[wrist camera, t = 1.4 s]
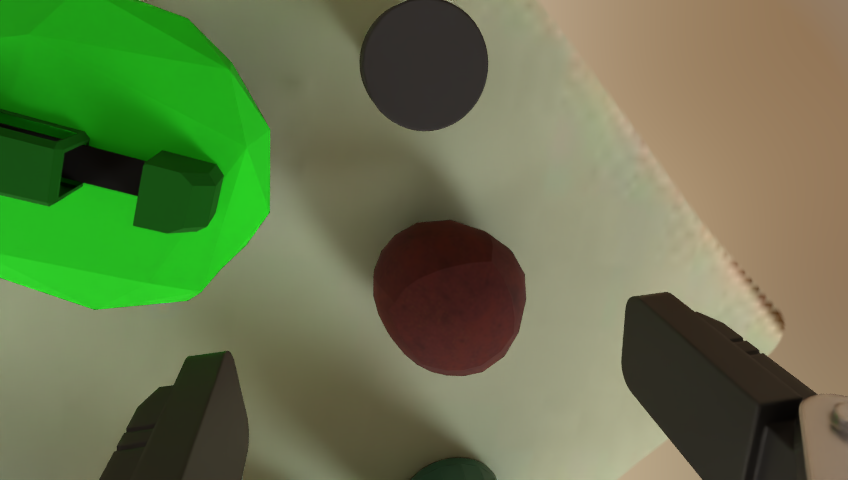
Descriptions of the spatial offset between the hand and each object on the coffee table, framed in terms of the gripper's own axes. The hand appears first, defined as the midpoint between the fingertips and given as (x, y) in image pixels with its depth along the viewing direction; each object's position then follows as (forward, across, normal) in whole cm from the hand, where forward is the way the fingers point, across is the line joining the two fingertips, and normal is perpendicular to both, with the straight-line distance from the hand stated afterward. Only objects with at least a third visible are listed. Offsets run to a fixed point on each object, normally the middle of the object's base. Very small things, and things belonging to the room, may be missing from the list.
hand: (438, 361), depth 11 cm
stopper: (+17, -2, -5) cm, 18 cm away
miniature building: (+17, +10, -2) cm, 20 cm away
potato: (+17, -3, +6) cm, 18 cm away
